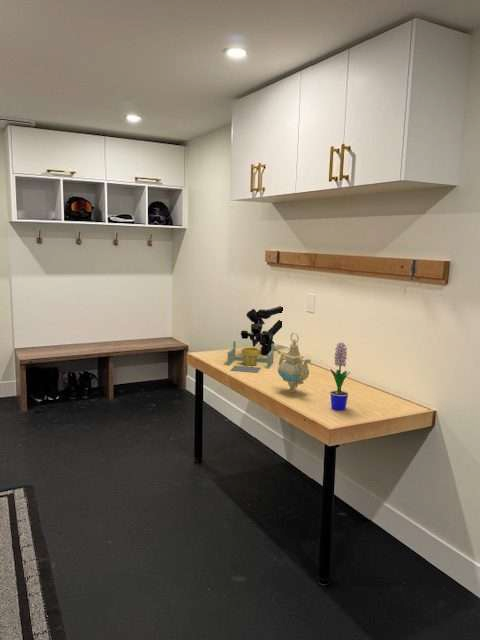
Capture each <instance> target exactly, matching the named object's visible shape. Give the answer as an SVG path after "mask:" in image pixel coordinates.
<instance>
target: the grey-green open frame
mask: <svg viewBox="0 0 480 640" xmlns="http://www.w3.org/2000/svg"><path fill="white" fill-rule="evenodd" d="M232 343H233V344H232V346H233V347H232V348H231V349H230V350H228V352H227V366H231V365H232V364H233V363H234V362H235V361H238V362H244V357H243V356H238V355H236V341H235V340H234V341H232ZM274 346H275V343H274V344H272V345H271V351H270V353H269V354H268V355H266V356H267V358H265V357H257V361H256V363H263V364H264V363H266V364H267V365H266V369H270V368H271V367H272V365H273V364H274V348H275V347H274Z"/></svg>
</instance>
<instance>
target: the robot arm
mask: <svg viewBox="0 0 480 640" xmlns="http://www.w3.org/2000/svg"><path fill="white" fill-rule="evenodd" d="M282 311H283V307H281V305H279V306H277V307H273V308H269V309H264V308H263V309H258V310H257V311H256V309H255V308H252V309H251V310H249V311H248V312H247V313H246V317H247V318H248V319H249V321H250V322H251V325H250V331H251V332H248V330H241V331H240V337H241V339H243V340H244V339H245V340H248V338H249V339H250V341H251V342H252V343H251V344H252V348H256V347H255V346H256V345H257V344H258V343H259V346H260V345H261V346H260V354H261V356H267V355H268V354H269V353H270V351H271V345H272V344H274V345H275V342H274V340H273V339H274V336H275V335H276V334H277V333H278V332H279V331H280V330H281V329H282V328H283V327H282V321H280V320H279V319H278V320H277V321H276V322H275V323H274V324H273V325H272V327H270V328H269V329H268V330H262V329H263V325H265V321H264V320H268V319H270V318H271V317H272V316H274V315H278V314H279V313H282Z"/></svg>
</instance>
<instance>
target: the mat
mask: <svg viewBox="0 0 480 640" xmlns="http://www.w3.org/2000/svg"><path fill="white" fill-rule="evenodd" d="M261 369H262V367H258V366H257V367H256V366H247V365H243V366H242V365H234V366H233V367H232V368H231V369H230V372H238V371H239V372H241V373H251V374H252V373H254V374H258V373H259V372H260V371H261Z"/></svg>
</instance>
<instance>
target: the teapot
mask: <svg viewBox="0 0 480 640" xmlns="http://www.w3.org/2000/svg"><path fill="white" fill-rule="evenodd" d="M294 334H295V335H296V337H297V340H296V339H293V337H292V336H293V335H294ZM290 341H291V342H292V343H291V344H290V345H289V347H290V348H288V350H289V351H288V352H287V353H286V354H285V352H284V351H283V350H282V349H279V350H278V351H277V354H278V355H279V354H280V358H279V361H278V367H277V373H278V375H279V376H280V377H281V378H282V381H284V382H287V384H288V386H289V387H290V388H289V390H290V392H291V393H295V392H296V389H297V388H298V385H299V386H301V385H303V384H304V383H305V382H304V381H305V380H307V379H308V377H309V375H310V370H309V365H308V364H310V363H312V360H311V358H307V359H305V360H303V359H304V358H305V357H304V356H303V355H301V352H299V351H300V349H299V343H298V342H299V334H298V333H296V332H292V333H291V335H290Z"/></svg>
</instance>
